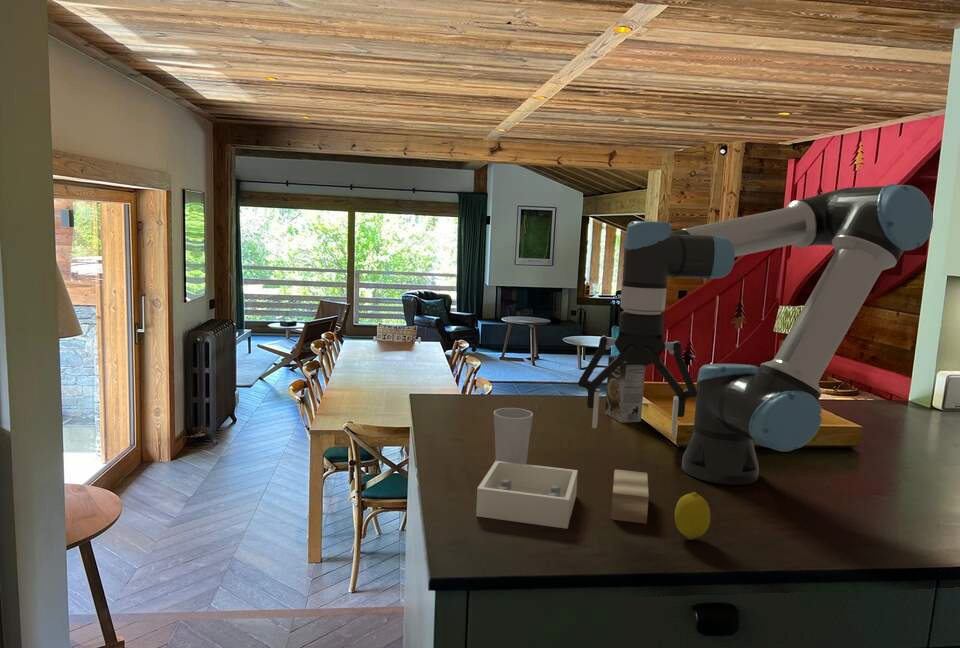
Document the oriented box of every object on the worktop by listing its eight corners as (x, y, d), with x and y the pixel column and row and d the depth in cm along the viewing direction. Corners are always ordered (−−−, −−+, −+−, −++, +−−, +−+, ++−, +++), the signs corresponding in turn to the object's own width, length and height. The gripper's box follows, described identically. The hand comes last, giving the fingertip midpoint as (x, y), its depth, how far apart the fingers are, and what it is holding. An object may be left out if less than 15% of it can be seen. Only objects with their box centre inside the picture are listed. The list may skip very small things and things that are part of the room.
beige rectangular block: (612, 494, 128) (614, 469, 128) (645, 498, 127) (647, 472, 126) (610, 520, 117) (612, 492, 116) (646, 525, 116) (648, 497, 115)
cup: (527, 478, 134) (530, 420, 133) (488, 474, 136) (490, 416, 134) (532, 465, 142) (535, 409, 140) (495, 461, 144) (497, 406, 142)
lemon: (680, 528, 114) (684, 483, 113) (713, 539, 110) (717, 492, 109) (667, 539, 110) (670, 492, 108) (700, 550, 106) (704, 502, 105)
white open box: (576, 495, 126) (577, 470, 126) (567, 528, 112) (569, 500, 112) (494, 485, 130) (495, 460, 129) (476, 516, 116) (477, 488, 115)
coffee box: (603, 413, 185) (607, 355, 182) (624, 412, 187) (628, 355, 184) (620, 423, 176) (624, 362, 174) (642, 421, 178) (646, 361, 176)
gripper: (715, 313, 118) (705, 431, 121) (572, 304, 123) (565, 417, 126) (720, 318, 111) (709, 444, 113) (567, 308, 116) (560, 428, 119)
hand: (633, 430), depth 120 cm, fingers open, 13 cm apart
